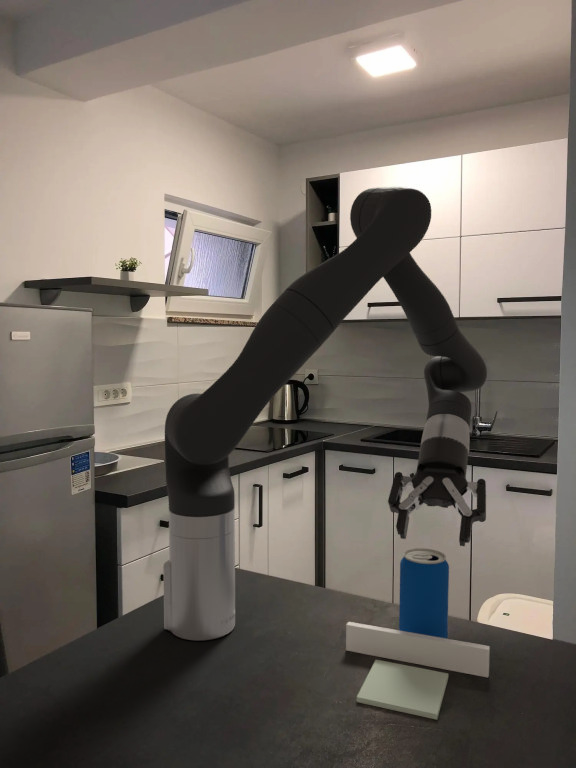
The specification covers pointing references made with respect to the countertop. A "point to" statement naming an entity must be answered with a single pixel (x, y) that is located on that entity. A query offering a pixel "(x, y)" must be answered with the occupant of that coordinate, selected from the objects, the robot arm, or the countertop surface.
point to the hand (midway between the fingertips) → (431, 540)
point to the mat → (404, 689)
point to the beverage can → (424, 592)
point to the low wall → (418, 649)
